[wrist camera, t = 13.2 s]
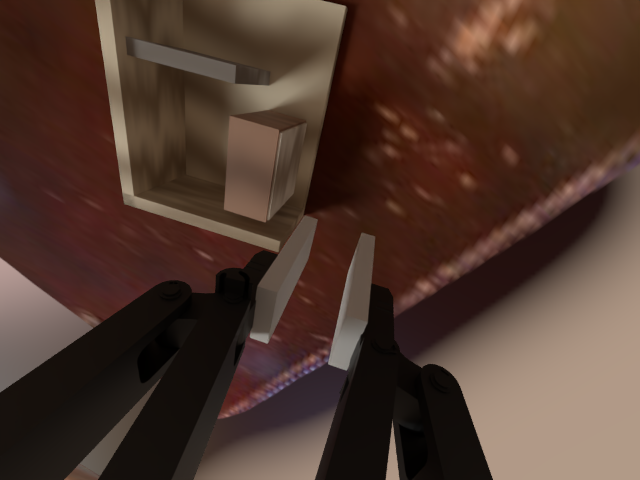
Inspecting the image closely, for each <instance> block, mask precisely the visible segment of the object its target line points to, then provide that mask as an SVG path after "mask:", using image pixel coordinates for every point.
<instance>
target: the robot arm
mask: <svg viewBox="0 0 640 480" xmlns="http://www.w3.org/2000/svg"><path fill="white" fill-rule="evenodd" d="M317 220H318V219H315V218H311V217H308V216H304V217H303V219H302V220H301V222H300V223H299V225H298V226H297V228H296V229H295V231H294V232H293V234H292V235H291V237H290V238H289V240H288V241H287V243H286V244H285V246H284V247H283V249H282V250H281V252H280V253H279V255H277V254H274V253H271V252H268V251H264V250H263V251H261V252H259V253H257V254H255V255H254V256H253V258H252V259H251V260H250V262H248V264H247V265H246V267H244V269H241V268H228V269H224V270H222V271H220V272H219V273H218V274H217V275H216V288H215V293H207V294H205V293H192V290H191V288H190V286H189V285H188V284H187V283H185V282H182V281H178V280H170V281H166V282H162V283H160V284H158V285H156V286H154V287H153V288H151V289H150V290H149V291H147V292H146V293H144V294H143V295H141V296H140V297H138V298H137V299H135V300H134V301H133V302H131V303H130V304H128V305H127V306H125V307H124V308H122V309H121V310H119V311H118V312H117V313H115V314H114V315H112V316H111V317H109V318H108V319H106V320H105V321H103V322H102V323H101V324H99V325H98V326H96V327H95V328H93V329H92V330H90V331H89V332H87V333H86V334H85V335H83V336H82V337H80V338H79V339H77V340H76V341H74V342H73V343H72V344H70V345H69V346H67V347H66V348H64V349H63V350H61V351H60V352H58V353H57V354H56V355H54V356H53V357H51V358H50V359H48V360H47V361H45V362H44V363H42V364H41V365H40V366H39V367H37V368H35V369H34V370H32V371H31V372H30V373H28V374H26V375H25V376H24V377H22V378H21V379H19V380H18V381H16V382H15V383H13V384H12V385H11V386H9V387H8V388H6V389H5V390H3V391H2V392H0V480H64V479H65V478H66V477H67V476H68V475H69V474H70V473H71V472H72V471H73V470H74V469H75V468H76V467H77V465H78V464H79V463H80V462H81V461H82V460H83V459H84V458H85V457H86V456H87V455H88V454H89V453H90V452H91V451H92V449H94V448H95V446H96V445H97V444H98V443H99V442H100V441H101V440H102V439H103V438H104V437H105V436H106V435H107V434H108V433H109V432H110V431H111V430H112V429H113V427H114V426H115V425H116V424H117V423H118V422H119V421H120V420H121V419H122V418H123V417H124V416H125V415H126V414H127V413H128V412H129V411H130V410H131V409H132V408H133V406H134V405H135V404H136V403H137V402H138V401H139V400H140V399H141V398H142V397H143V396H144V395H145V394H146V393H147V391H149V390H150V388H152V386H153V385H154V384H155V383H156V382H157V381H158V380H159V379H160V378H161V377H162V376H163V377H162V378H161V380H160V382H159V383H158V385H157V387H156V388H155V390H154V391H153V393H152V394H151V396H150V398H149V399H148V401H147V402H146V404H145V406H144V407H143V409H142V411H141V412H140V414H139V415H138V417H137V418H136V420H135V422H134V424H133V425H132V426H131V428H130V430H129V431H128V433H127V434H126V436H125V438H124V439H123V441H122V442H121V444H120V445H119V447H118V449H117V450H116V452H115V453H114V455H113V457H112V458H111V460H110V461H109V463H108V465H107V466H106V468H105V470H104V471H103V473H102V474H101V476H100V477H99V479H98V480H193V479H194V477H195V474H196V471H197V469H198V466H199V464H200V461H201V458H202V456H203V453H204V451H205V448H206V446H207V443H208V441H209V438H210V435H211V433H212V430H213V428H214V425H215V422H216V420H217V417H218V415H219V412H220V410H221V407H222V404H223V402H224V399H225V397H226V394H227V391H228V389H229V386H230V384H231V381H232V378H233V376H234V373H235V371H236V368H237V366H238V363H239V360H240V358H241V355H242V353H243V350H244V347H245V341H246V338H247V336H248V334H249V332H250V331H251V334H250V338H253V339H256V340H259V341H262V342H265V343H268V342H269V340H270V338H271V336H272V333H273V331H274V329H275V327H276V325H277V323H278V321H279V319H280V317H281V315H282V313H283V310H284V308H285V306H286V304H287V302H288V300H289V298H290V296H291V294H292V292H293V290H294V287H295V285H296V283H297V281H298V279H299V277H300V275H301V273H302V271H303V269H304V267H305V264H306V262H307V260H308V257H309V253H310V249H311V245H312V241H313V237H314V233H315V229H316V224H317ZM374 244H375V237H374V236H371V235H368V234H364V233H361V236H360V239H359V242H358V245H357V248H356V251H355V254H354V257H353V260H352V263H351V266H350V268H349V271H348V276H347V280H346V285H345V289H344V294H343V299H342V303H341V308H340V312H339V317H338V321H337V326H336V331H335V335H334V340H333V344H332V349H331V353H330V358H329V362H328V364H329V365H332V366H335V367H338V368H341V369H344V370H347V368H348V366H349V372H348V375H347V377H346V380H345V382H344V384H343V387H342V389H341V391H340V394H341V395H340V399H339V402H338V405H337V409H336V412H335V415H334V418H333V422H332V425H331V429H330V432H329V435H328V438H327V442H326V445H325V448H324V451H323V455H322V458H321V461H320V465H319V468H318V472H317V475H316V478H315V480H386V471H387V463H388V454H389V445H390V437H391V428H392V419H393V427H394V436H395V444H396V453H397V461H398V470H399V478H400V480H493V478H492V476H491V473H490V470H489V467H488V464H487V461H486V459H485V456H484V453H483V450H482V447H481V445H480V442H479V439H478V436H477V433H476V430H475V428H474V425H473V422H472V419H471V416H470V413H469V410H468V408H467V405H466V402H465V399H464V397H463V394H462V391H461V388H460V386H459V384H458V382H457V380H456V379H455V378H454V376H453V375H452V374H451V373H450V372H448V371H447V370H446V369H444V368H443V367H441V366H438V365H435V364H428V365H425V366H423V368H421V367H419V366H418V365H416V364H414V363H413V362H411V361H409V360H408V359H407V358H406V357H404V355H403V354H402V353H400V350H399V346H398V344H397V343H396V341H395V340H394V314H393V296H392V294H391V292H390V291H389V289H388V288H384V287H381V286H378V285H375V284H372V283H371V278H372V267H373V255H374ZM349 364H350V365H349Z"/></svg>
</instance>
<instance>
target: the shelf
mask: <svg viewBox="0 0 640 480" xmlns="http://www.w3.org/2000/svg"><path fill="white" fill-rule="evenodd" d="M95 3H96V10H97V17H98V24H99V31H100V38H101V45H102V52H103V59H104V66H105V73H106V80H107V87H108V94H109V101H110V108H111V115H112V122H113V129H114V136H115V143H116V150H117V157H118V164H119V171H120V178H121V185H122V192H123V199H124V204H126V205H130V206H133V207H136V208H139V209H142V210H146V211H149V212H152V213H155V214H158V215H161V216H165V217H168V218H171V219H174V220H177V221H181V222H184V223H187V224H190V225H193V226H197V227H200V228H203V229H206V230H209V231H212V232H216V233H219V234H222V235H225V236H228V237H232V238H235V239H238V240H241V241H244V242H248V243H251V244H254V245H257V246H260V247H263V248H267V249H270V250H273V251H276V252H279V251H280V249H281V248H282V246H283V245H284V243H285V242H286V240H287V239H288V237H289V236H290V234H291V233H292V232H293V230H294V229H295V227H296V226H297V224H298V223H299V221H300V220H301V218H302V217H303V215H304V211H305V206H306V201H307V197H308V192H309V187H310V183H311V178H312V173H313V169H314V164H315V159H316V155H317V150H318V145H319V140H320V136H321V131H322V126H323V122H324V117H325V112H326V108H327V103H328V98H329V94H330V89H331V84H332V80H333V75H334V70H335V65H336V61H337V56H338V51H339V47H340V42H341V37H342V33H343V28H344V23H345V19H346V14H347V7H346V6H343V5H339V4H335V3H331V2H326V1H322V0H95ZM265 110H270V111H274V112H278V113H281V114H285V115H288V116H292V117H295V118H299V119H302V120H306V123H307V127H306V132H305V137H304V142H303V147H302V153H301V158H300V163H299V168H298V173H297V178H296V184H295V189H294V194H293V195H292V196H291V197H290V198H289V199H288V200H287V201H286V202H285V204H284V205H283V206H282V207H281V208H280V209H279V210H278V211H277V212H276V213H275V214H274V215H273V216H272V218H271V219H270V220H268V221H267V222H266V223H265V222H262V221H259V220H256V219H252V218H249V217H246V216H243V215H240V214H236V213H233V212H230V211H227V210H224V201H225V184H226V168H227V152H228V135H229V119H230V115H237V114H244V113H251V112H258V111H265Z"/></svg>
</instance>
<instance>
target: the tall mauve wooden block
mask: <svg viewBox="0 0 640 480" xmlns="http://www.w3.org/2000/svg"><path fill="white" fill-rule="evenodd" d="M306 127H307V123H306V120H302V119H299V118H295V117H292V116H288V115H285V114H281V113H278V112H274V111H270V110H265V111H258V112H251V113H244V114H237V115H230V119H229V135H228V152H227V168H226V184H225V201H224V210H227V211H230V212H233V213H236V214H240V215H243V216H246V217H249V218H252V219H256V220H259V221H262V222H265V223H266V222H267V221H268V220H270V219H271V218H272V216H273V215H274V214H275V213H276V212H277V211H278V210H279V209H280V208H281V207H282V206H283V205H284V204H285V202H286V201H287V200H288V199H289V198H290V197H291V196H292V195H293V194H294V189H295V184H296V178H297V173H298V168H299V163H300V158H301V153H302V147H303V142H304V137H305V132H306Z"/></svg>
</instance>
